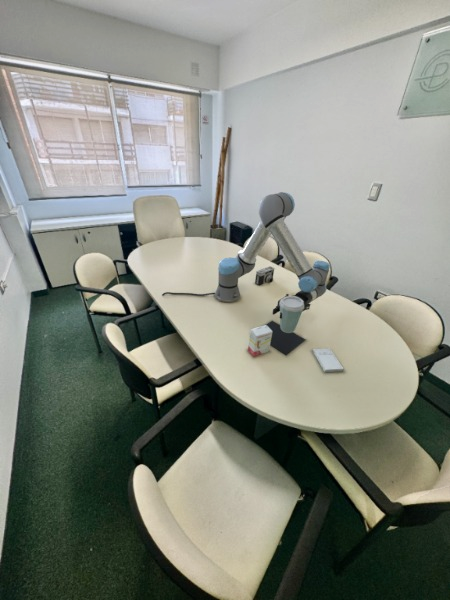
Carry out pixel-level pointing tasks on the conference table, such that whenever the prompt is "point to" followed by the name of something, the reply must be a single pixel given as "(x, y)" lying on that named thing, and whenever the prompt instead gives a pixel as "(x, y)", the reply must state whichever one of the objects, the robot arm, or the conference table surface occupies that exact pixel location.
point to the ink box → (260, 340)
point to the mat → (283, 339)
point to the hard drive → (328, 360)
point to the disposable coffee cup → (290, 313)
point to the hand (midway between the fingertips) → (276, 313)
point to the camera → (264, 276)
